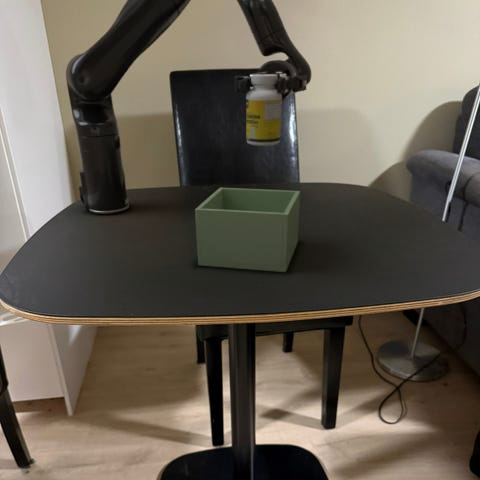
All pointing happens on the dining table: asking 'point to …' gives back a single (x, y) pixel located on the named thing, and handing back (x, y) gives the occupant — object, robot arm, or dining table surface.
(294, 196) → the storage bin
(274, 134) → the pill bottle
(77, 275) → the dining table surface
